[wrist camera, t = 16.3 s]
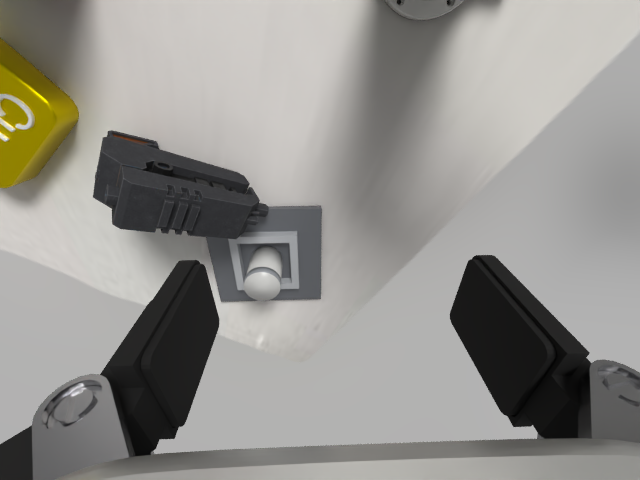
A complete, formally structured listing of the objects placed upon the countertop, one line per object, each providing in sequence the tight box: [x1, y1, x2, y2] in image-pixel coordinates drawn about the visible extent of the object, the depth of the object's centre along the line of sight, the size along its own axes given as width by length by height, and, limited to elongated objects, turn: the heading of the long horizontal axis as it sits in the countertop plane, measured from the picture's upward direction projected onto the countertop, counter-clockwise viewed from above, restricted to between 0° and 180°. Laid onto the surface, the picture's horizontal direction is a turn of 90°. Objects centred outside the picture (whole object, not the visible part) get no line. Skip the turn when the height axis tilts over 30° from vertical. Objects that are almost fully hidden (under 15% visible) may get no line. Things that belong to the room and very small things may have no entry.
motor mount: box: [206, 206, 322, 301], centre depth 46 cm, size 18×18×2 cm
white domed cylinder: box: [244, 246, 283, 301], centre depth 43 cm, size 5×5×7 cm
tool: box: [93, 131, 269, 239], centre depth 36 cm, size 6×19×15 cm, turn 60°
